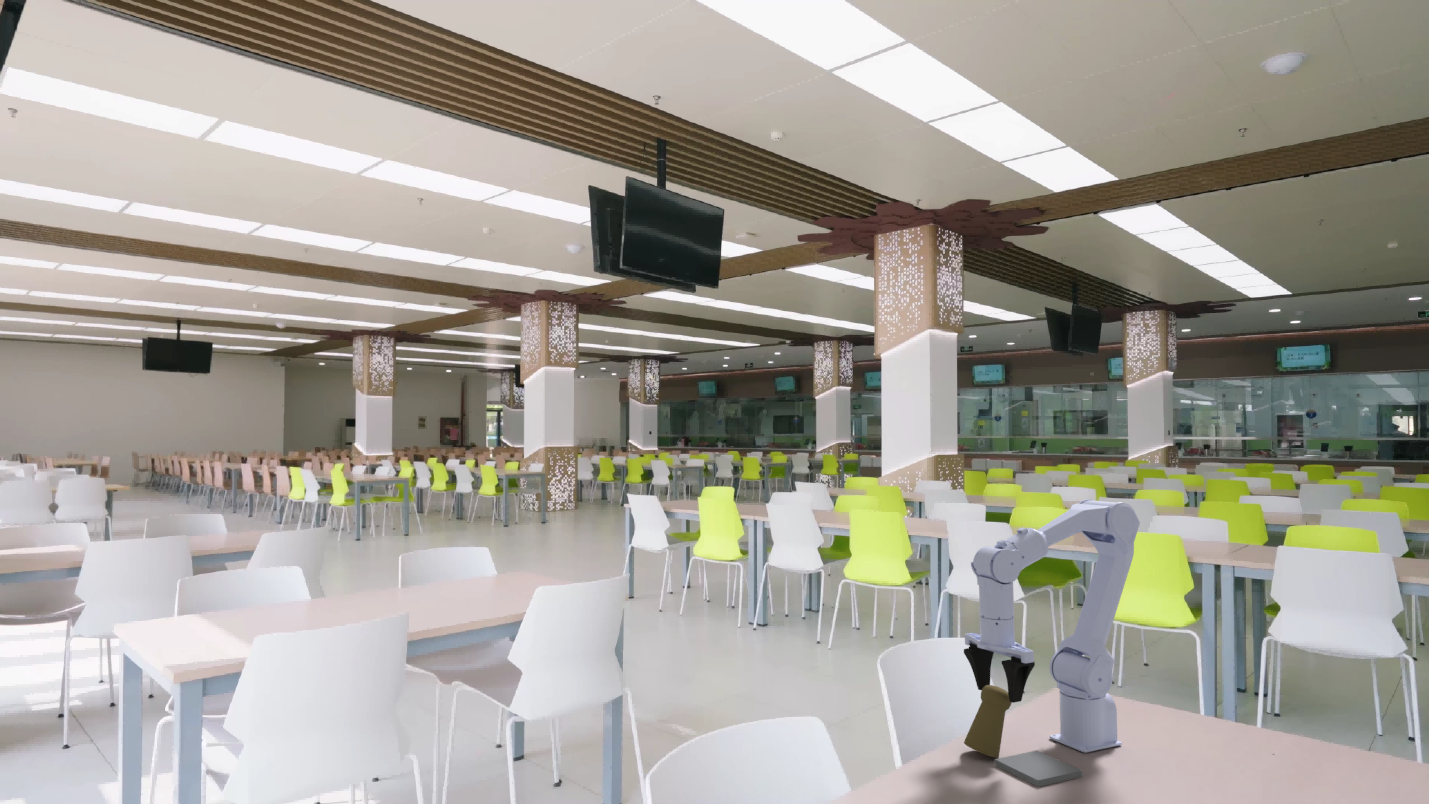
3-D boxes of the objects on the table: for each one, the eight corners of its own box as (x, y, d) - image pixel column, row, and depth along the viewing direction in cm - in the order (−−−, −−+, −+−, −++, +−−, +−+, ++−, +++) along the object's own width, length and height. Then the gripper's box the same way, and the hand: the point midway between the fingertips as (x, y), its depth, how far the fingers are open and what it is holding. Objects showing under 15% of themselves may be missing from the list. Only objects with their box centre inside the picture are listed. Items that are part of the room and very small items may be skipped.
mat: (1036, 756, 140) (1036, 750, 140) (1082, 776, 131) (1082, 770, 132) (994, 765, 136) (994, 759, 136) (1038, 787, 128) (1038, 780, 128)
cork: (1001, 760, 137) (1019, 697, 138) (965, 747, 138) (984, 683, 140) (995, 752, 143) (1013, 691, 144) (961, 739, 144) (979, 678, 145)
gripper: (950, 611, 147) (952, 687, 146) (1010, 627, 134) (1013, 710, 133) (980, 607, 150) (982, 681, 149) (1042, 622, 137) (1044, 704, 136)
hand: (999, 695), depth 142 cm, fingers open, 7 cm apart
